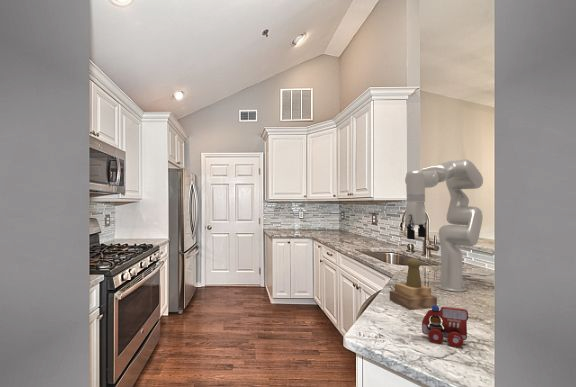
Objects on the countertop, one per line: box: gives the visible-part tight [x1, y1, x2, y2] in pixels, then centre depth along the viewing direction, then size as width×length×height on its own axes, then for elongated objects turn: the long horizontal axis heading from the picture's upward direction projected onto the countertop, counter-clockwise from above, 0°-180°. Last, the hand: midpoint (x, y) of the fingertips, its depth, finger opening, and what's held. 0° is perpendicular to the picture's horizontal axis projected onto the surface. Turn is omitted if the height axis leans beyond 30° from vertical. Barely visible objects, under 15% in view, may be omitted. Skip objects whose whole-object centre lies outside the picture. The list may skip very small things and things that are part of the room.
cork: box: [405, 258, 422, 288], centre depth 129 cm, size 6×6×11 cm
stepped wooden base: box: [389, 282, 438, 311], centre depth 129 cm, size 13×13×8 cm
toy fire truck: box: [421, 304, 469, 348], centre depth 93 cm, size 7×12×10 cm, turn 64°
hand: (416, 238), depth 136 cm, fingers open, 9 cm apart
